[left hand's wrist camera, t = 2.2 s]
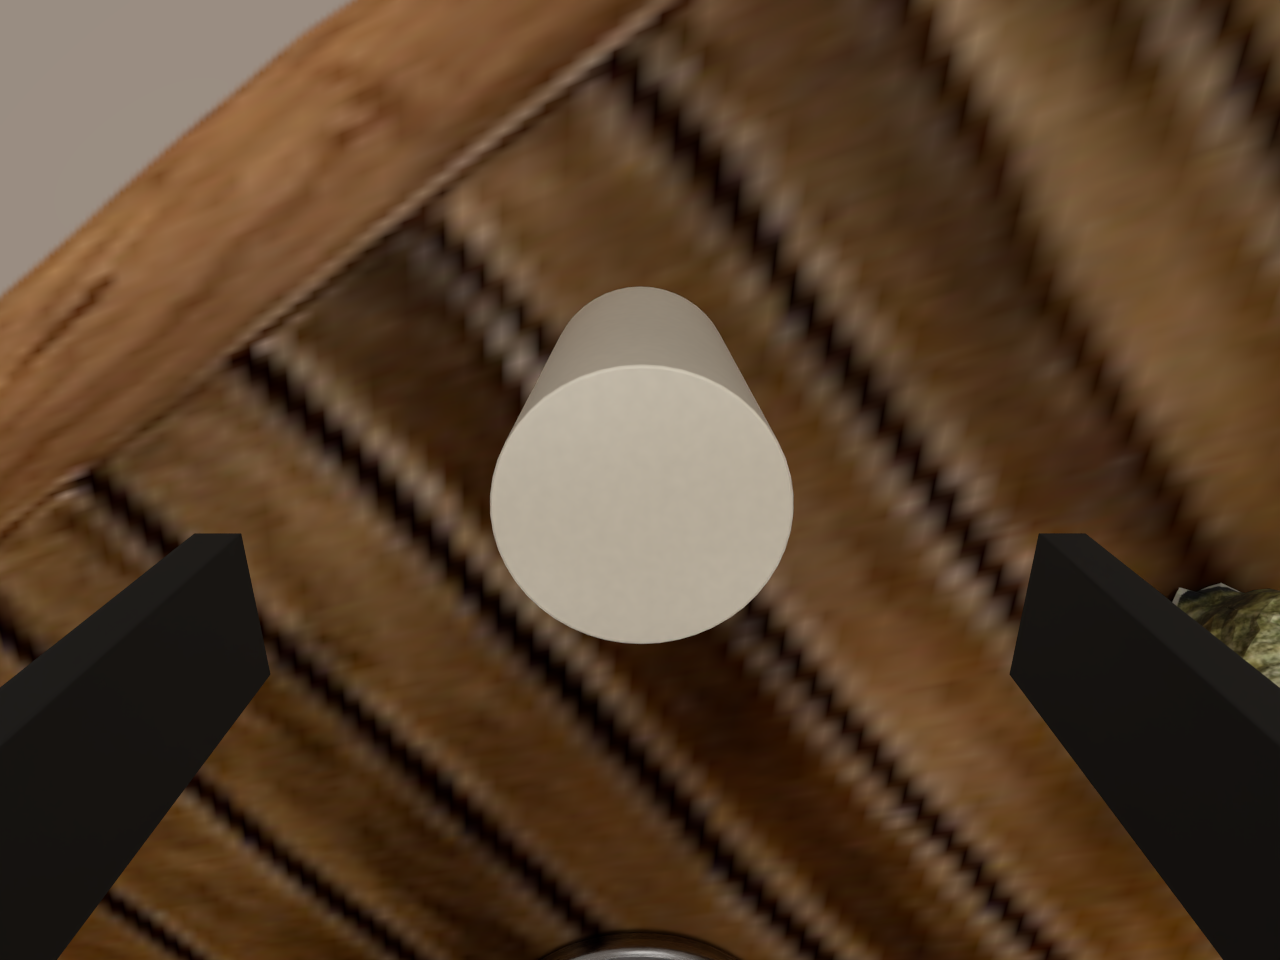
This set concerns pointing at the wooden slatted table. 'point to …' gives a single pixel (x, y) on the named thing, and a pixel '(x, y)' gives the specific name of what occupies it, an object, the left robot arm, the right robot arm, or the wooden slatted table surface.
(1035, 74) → the wooden slatted table surface
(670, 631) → the cylinder
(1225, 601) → the fossil
